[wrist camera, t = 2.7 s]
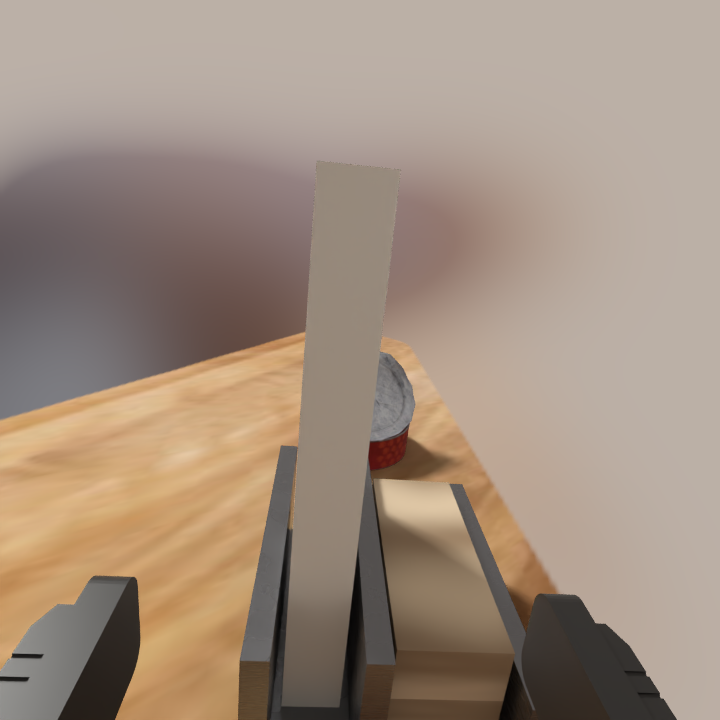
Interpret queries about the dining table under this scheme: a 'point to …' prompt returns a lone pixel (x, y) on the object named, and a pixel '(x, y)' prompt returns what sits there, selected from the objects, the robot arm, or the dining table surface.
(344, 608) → the white rectangular board
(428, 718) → the offcut bottom
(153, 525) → the dining table surface
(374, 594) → the rack
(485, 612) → the offcut top
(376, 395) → the canned food
